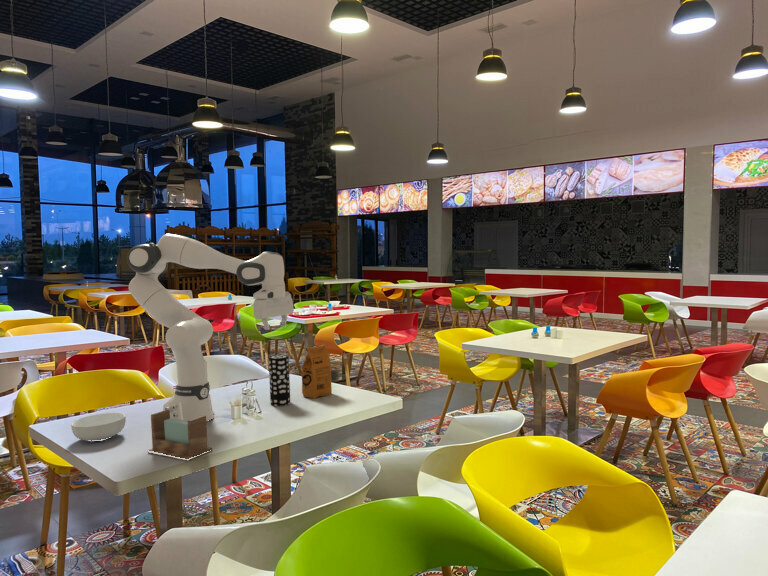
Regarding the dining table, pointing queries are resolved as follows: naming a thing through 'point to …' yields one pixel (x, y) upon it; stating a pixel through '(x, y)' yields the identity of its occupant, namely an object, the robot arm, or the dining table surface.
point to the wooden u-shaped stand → (194, 448)
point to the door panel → (176, 430)
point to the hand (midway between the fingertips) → (275, 327)
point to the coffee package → (316, 373)
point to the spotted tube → (279, 380)
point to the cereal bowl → (98, 426)
